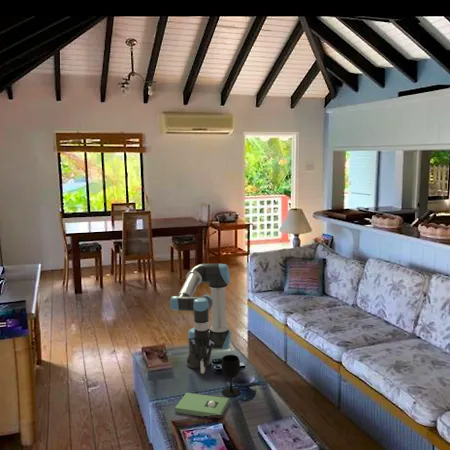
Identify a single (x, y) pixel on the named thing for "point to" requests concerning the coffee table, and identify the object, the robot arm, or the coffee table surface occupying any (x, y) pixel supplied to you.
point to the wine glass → (230, 373)
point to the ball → (211, 404)
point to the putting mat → (201, 405)
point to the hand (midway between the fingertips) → (202, 372)
